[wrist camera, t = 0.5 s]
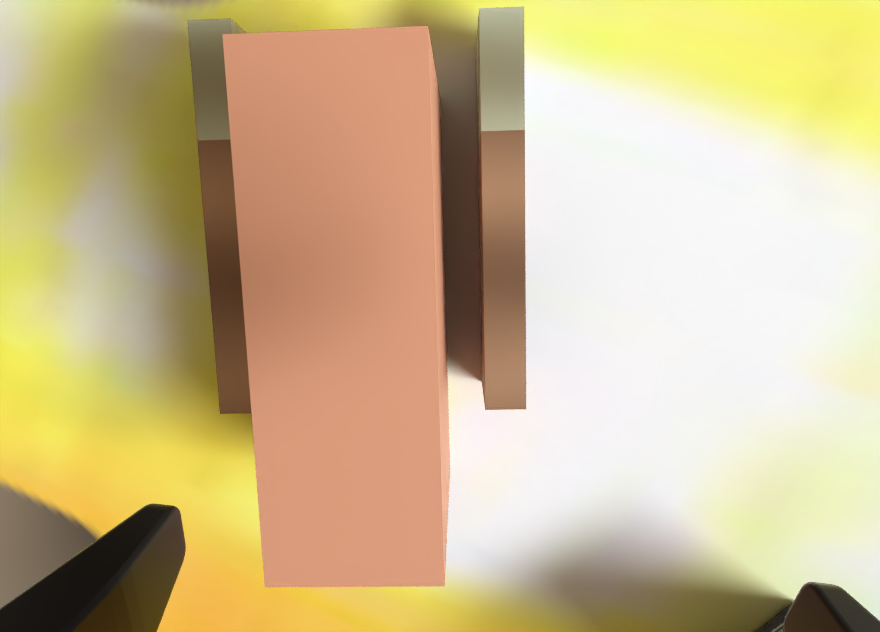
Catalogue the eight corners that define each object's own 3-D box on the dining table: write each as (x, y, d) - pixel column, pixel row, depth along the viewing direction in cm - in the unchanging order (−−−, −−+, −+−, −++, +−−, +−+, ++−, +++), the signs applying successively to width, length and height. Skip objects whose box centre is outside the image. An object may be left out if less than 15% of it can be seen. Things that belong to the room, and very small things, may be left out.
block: (449, 467, 27) (444, 586, 18) (329, 469, 27) (264, 587, 18) (440, 97, 25) (428, 25, 16) (307, 102, 25) (222, 34, 16)
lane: (516, 381, 26) (526, 408, 22) (256, 385, 27) (220, 413, 23) (513, 42, 24) (523, 6, 20) (231, 53, 25) (187, 20, 21)
